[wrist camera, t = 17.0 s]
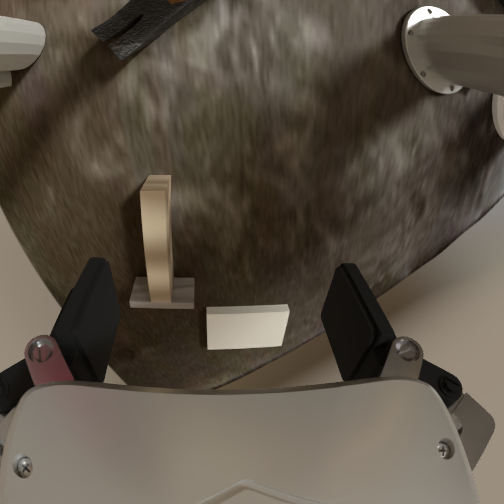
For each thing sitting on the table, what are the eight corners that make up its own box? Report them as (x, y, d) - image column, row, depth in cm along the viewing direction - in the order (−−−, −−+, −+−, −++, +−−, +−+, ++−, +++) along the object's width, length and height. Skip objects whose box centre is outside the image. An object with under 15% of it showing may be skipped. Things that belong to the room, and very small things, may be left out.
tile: (289, 311, 43) (281, 345, 47) (286, 302, 44) (278, 336, 49) (206, 314, 41) (207, 349, 45) (206, 304, 42) (207, 340, 47)
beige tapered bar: (125, 175, 30) (113, 191, 26) (195, 175, 31) (193, 191, 27) (136, 282, 38) (130, 307, 34) (194, 283, 39) (194, 308, 35)
